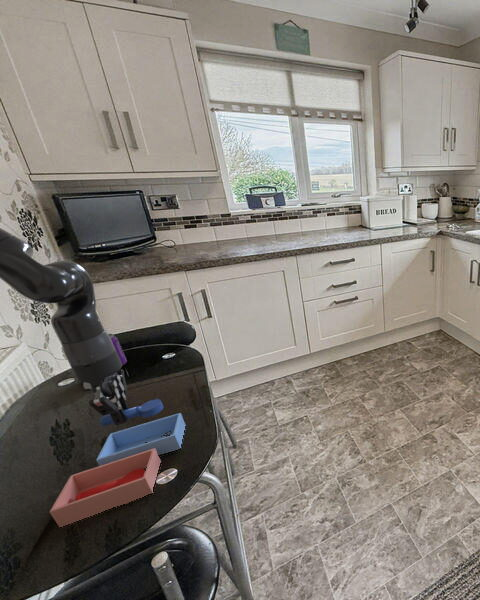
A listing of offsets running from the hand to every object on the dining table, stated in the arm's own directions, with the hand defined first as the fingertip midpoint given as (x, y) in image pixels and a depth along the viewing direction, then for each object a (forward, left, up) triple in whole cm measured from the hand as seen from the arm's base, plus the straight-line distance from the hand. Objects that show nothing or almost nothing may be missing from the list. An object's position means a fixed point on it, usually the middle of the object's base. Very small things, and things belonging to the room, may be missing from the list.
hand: (123, 419), depth 76 cm
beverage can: (-20, +57, -10) cm, 61 cm away
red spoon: (-2, -11, -9) cm, 15 cm away
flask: (-22, +46, -10) cm, 51 cm away
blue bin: (+2, 0, -10) cm, 10 cm away
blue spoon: (+2, 0, 0) cm, 2 cm away
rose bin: (-2, -11, -10) cm, 15 cm away
